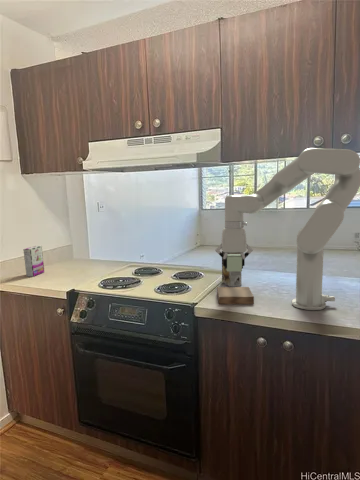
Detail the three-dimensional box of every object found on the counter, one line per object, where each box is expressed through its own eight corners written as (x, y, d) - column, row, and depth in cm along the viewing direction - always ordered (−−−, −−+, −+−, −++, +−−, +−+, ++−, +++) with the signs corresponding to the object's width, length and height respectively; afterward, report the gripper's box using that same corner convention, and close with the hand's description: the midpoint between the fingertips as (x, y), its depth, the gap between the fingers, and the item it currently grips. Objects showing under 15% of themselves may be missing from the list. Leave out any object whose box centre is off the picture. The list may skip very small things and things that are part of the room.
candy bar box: (37, 272, 200) (34, 245, 198) (44, 272, 199) (42, 245, 197) (25, 276, 189) (22, 248, 187) (33, 277, 188) (30, 248, 186)
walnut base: (248, 293, 146) (248, 286, 146) (253, 303, 133) (253, 296, 132) (217, 293, 147) (217, 287, 147) (219, 304, 133) (219, 297, 133)
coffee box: (221, 282, 166) (221, 250, 163) (232, 280, 168) (232, 249, 166) (230, 286, 157) (230, 253, 155) (242, 285, 159) (242, 252, 157)
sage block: (240, 268, 141) (240, 254, 140) (241, 271, 135) (242, 257, 134) (226, 268, 141) (226, 254, 140) (227, 271, 135) (227, 257, 135)
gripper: (253, 224, 139) (253, 265, 141) (212, 224, 140) (212, 266, 142) (256, 226, 131) (256, 269, 134) (213, 226, 132) (213, 270, 135)
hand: (233, 267), depth 138 cm, fingers closed on sage block, 6 cm apart
